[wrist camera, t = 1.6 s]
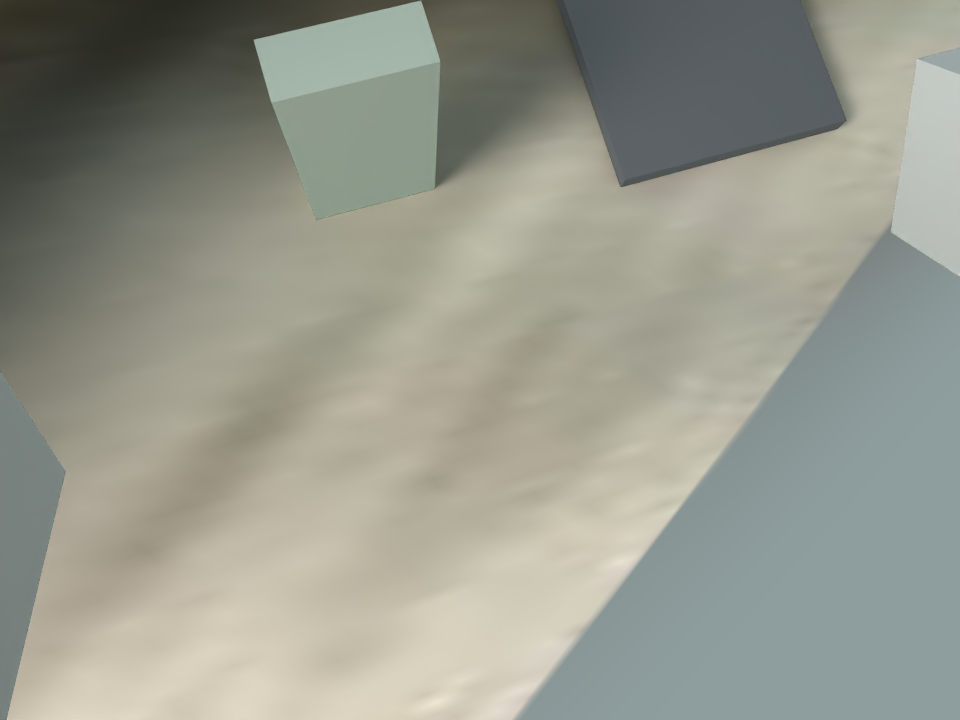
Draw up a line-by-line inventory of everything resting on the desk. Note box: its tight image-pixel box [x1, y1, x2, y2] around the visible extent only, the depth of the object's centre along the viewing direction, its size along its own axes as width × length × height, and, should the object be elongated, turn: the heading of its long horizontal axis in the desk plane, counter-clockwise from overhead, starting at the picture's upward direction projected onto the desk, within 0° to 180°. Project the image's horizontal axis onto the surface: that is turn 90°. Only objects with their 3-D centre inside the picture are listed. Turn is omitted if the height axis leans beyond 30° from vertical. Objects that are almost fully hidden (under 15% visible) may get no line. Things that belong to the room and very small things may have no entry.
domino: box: [254, 1, 440, 220], centre depth 29 cm, size 5×2×10 cm, turn 107°
